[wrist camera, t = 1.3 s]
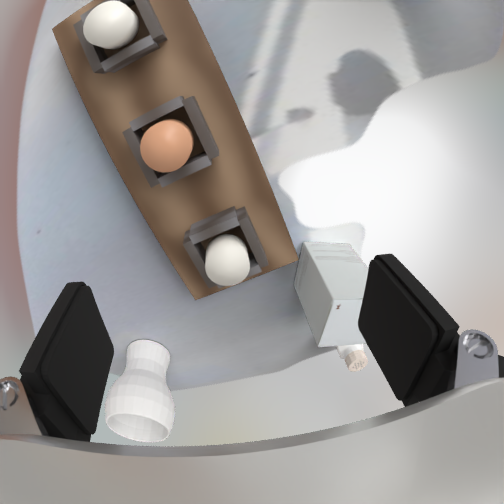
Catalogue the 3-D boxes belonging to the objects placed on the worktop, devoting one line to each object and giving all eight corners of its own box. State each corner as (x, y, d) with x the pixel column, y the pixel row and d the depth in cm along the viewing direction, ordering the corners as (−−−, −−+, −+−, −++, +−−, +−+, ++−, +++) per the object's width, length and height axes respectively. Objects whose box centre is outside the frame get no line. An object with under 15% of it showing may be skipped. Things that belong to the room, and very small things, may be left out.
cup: (191, 358, 50) (189, 434, 37) (151, 379, 52) (144, 448, 39) (145, 323, 45) (129, 402, 32) (108, 349, 47) (89, 420, 34)
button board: (173, -26, 22) (163, -49, 16) (291, 244, 41) (304, 273, 35) (67, 33, 23) (38, 25, 17) (196, 282, 42) (194, 315, 36)
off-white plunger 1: (130, 0, 19) (121, -8, 16) (146, 34, 21) (138, 28, 18) (89, 24, 19) (77, 18, 16) (104, 57, 21) (92, 55, 19)
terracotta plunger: (182, 111, 25) (177, 113, 22) (201, 152, 27) (199, 158, 25) (140, 132, 25) (131, 137, 23) (160, 172, 28) (154, 180, 25)
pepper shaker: (331, 335, 50) (348, 376, 42) (325, 320, 48) (343, 363, 40) (352, 325, 50) (372, 366, 42) (347, 310, 48) (369, 352, 40)
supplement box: (292, 285, 44) (314, 348, 33) (302, 239, 40) (333, 298, 30) (338, 286, 45) (369, 345, 34) (351, 243, 42) (392, 297, 31)
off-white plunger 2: (237, 227, 31) (239, 241, 29) (253, 260, 34) (256, 276, 31) (198, 243, 32) (197, 258, 29) (216, 275, 34) (216, 291, 31)
